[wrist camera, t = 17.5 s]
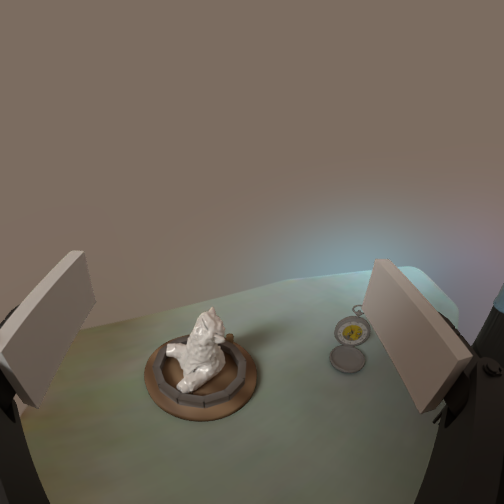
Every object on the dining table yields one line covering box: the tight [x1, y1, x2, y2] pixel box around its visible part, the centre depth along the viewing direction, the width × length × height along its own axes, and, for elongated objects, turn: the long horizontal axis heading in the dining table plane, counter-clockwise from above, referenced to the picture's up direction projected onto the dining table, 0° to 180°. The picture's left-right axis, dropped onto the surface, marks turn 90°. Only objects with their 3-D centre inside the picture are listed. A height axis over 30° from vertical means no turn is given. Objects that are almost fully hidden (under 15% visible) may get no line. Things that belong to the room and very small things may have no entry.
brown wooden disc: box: [144, 334, 257, 422], centre depth 41 cm, size 18×18×3 cm
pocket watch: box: [330, 305, 371, 373], centre depth 45 cm, size 8×8×10 cm
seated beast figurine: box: [166, 307, 226, 394], centre depth 38 cm, size 10×9×12 cm
